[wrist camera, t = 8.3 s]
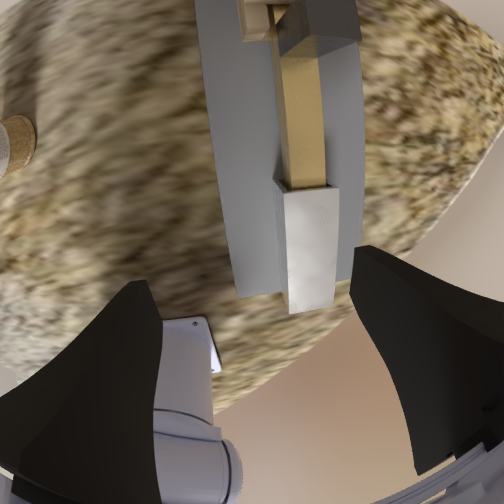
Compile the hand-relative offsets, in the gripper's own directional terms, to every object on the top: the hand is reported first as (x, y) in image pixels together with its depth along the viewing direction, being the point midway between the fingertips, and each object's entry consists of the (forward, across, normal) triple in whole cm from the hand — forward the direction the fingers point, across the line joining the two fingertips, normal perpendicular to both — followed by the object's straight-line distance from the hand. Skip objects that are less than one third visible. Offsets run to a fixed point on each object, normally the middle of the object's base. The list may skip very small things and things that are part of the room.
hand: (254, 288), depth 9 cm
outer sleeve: (+9, -4, +3) cm, 11 cm away
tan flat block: (+9, -4, -6) cm, 12 cm away
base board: (+10, -4, -3) cm, 12 cm away
